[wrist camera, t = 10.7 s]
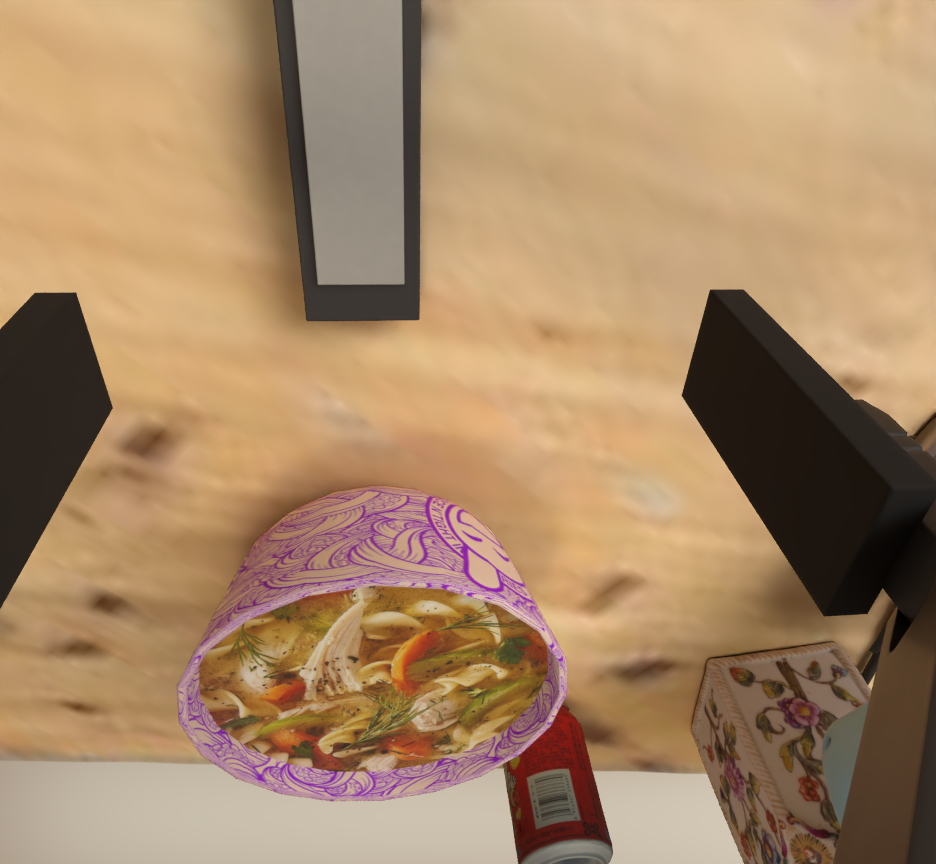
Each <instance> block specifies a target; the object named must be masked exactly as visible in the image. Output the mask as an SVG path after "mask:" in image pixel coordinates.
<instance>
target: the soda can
mask: <svg viewBox="0 0 936 864" xmlns="http://www.w3.org/2000/svg"><path fill="white" fill-rule="evenodd" d="M503 767H504V773H505V779H506V786H507V793H508V798H509V805H510V811H511V817H512V823H513V831H514V838H515V845H516V851H517V858H518V864H608V863H609V862H610V860H611V858H612V855H613V849H612V843H611V840H610V836H609V832H608V828H607V825H606V821H605V817H604V814H603V810H602V806H601V802H600V798H599V794H598V790H597V786H596V782H595V778H594V775H593V771H592V767H591V763H590V759H589V755H588V751H587V747H586V743H585V739H584V735H583V732H582V728H581V725H580V723H579V722H578V721H577V719H576V718H575V717H574V716H573V715H572V714H571V713H570V712H569V708H568V707H567V705H566V704H565V703H564V702H563V703H562V705H561V707H560V709H559V710H558V712H557V714H556V716H555V718H554V720H553V722H552V724H551V726H550V727H549V728H548V729H547V730H546V731H545V732H544V733H543V734H542V735H541V736H540V737H538V738H537V739H536V740H535V741H534V742H533V743H532V744H531V745H530V746H529V747H528V748H527V749H526V750H525V751H523V752H522V753H521V754H520V755H518V756H516V757H515V758H513V759H511V760H509V761H507V762H506V763H504V764H503Z"/></svg>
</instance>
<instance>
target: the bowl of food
mask: <svg viewBox="0 0 936 864" xmlns="http://www.w3.org/2000/svg"><path fill="white" fill-rule="evenodd" d="M566 695H567V670H566V657H565V655H564V653H563V652H562V650H561V648H560V646H559V644H558V642H557V640H556V638H555V637H554V635H553V633H552V631H551V630H550V628H549V626H548V625H547V623H546V621H545V619H544V618H543V616H542V614H541V612H540V610H539V608H538V607H537V605H536V603H535V601H534V599H533V597H532V596H531V594H530V592H529V590H528V589H527V587H526V585H525V584H524V582H523V580H522V578H521V577H520V575H519V573H518V572H517V570H516V569H515V567H514V565H513V564H512V562H511V560H510V559H509V557H508V556H507V554H506V552H505V551H504V549H503V547H502V546H501V544H500V543H499V541H498V540H497V539H496V537H495V536H494V534H493V533H492V531H491V530H490V529H489V528H488V527H487V526H485V525H484V524H483V523H481V522H480V521H479V520H477V519H476V518H475V517H473V516H472V515H471V514H469V513H468V512H466V511H465V510H464V509H462V508H461V507H459V506H457V505H455V504H454V503H452V502H450V501H448V500H445V499H442V498H439V497H436V496H433V495H431V494H428V493H425V492H422V491H419V490H416V489H411V488H399V487H387V486H369V487H362V488H355V489H349V490H342V491H336V492H333V493H331V494H329V495H326V496H324V497H321V498H319V499H317V500H314V501H312V502H310V503H307V504H305V505H303V506H300V507H299V508H297V509H295V510H293V511H292V512H290V513H288V514H287V515H286V516H284V517H283V518H282V519H281V520H280V521H278V522H277V523H276V524H275V525H274V526H272V527H271V528H270V529H269V530H268V531H266V532H265V533H264V534H263V535H262V536H260V537H259V538H258V539H257V541H256V542H255V544H254V545H253V547H252V548H251V550H250V551H249V553H248V554H247V556H246V557H245V559H244V561H243V563H242V564H241V566H240V568H239V570H238V571H237V573H236V575H235V577H234V579H233V580H232V582H231V584H230V586H229V588H228V590H227V591H226V593H225V595H224V597H223V599H222V601H221V603H220V604H219V606H218V608H217V610H216V612H215V614H214V616H213V618H212V619H211V621H210V623H209V625H208V627H207V629H206V631H205V633H204V635H203V636H202V638H201V640H200V642H199V644H198V646H197V647H196V649H195V651H194V653H193V655H192V657H191V659H190V660H189V662H188V664H187V666H186V668H185V670H184V672H183V674H182V676H181V678H180V680H179V682H178V684H177V697H178V715H179V723H180V725H181V726H182V728H183V729H184V731H185V732H186V734H187V735H188V737H189V738H190V740H191V741H192V743H193V744H194V746H195V747H196V749H197V750H198V752H199V753H200V754H201V755H202V756H204V757H205V758H206V759H208V760H209V761H211V762H212V763H214V764H215V765H217V766H218V767H220V768H221V769H223V770H224V771H226V772H227V773H229V774H230V775H232V776H233V777H235V778H236V779H240V780H242V781H245V782H248V783H251V784H254V785H256V786H259V787H262V788H265V789H268V790H271V791H274V792H277V793H280V794H284V795H291V796H298V797H306V798H312V799H319V800H326V801H375V800H376V801H379V800H380V801H381V800H389V799H395V798H401V797H407V796H413V795H419V794H424V793H430V792H436V791H439V790H441V789H444V788H447V787H450V786H453V785H456V784H459V783H462V782H465V781H468V780H471V779H474V778H477V777H480V776H482V775H484V774H486V773H488V772H489V771H491V770H493V769H495V768H497V767H498V766H500V765H502V764H504V763H506V762H507V761H509V760H511V759H513V758H515V757H516V756H518V755H520V754H521V753H522V752H523V751H525V750H526V749H527V748H528V747H529V746H530V745H531V744H532V743H533V742H534V741H535V740H536V739H537V738H538V737H540V736H541V735H542V734H543V733H544V732H545V731H546V730H547V729H548V728H549V727H550V726H551V724H552V722H553V720H554V718H555V716H556V714H557V712H558V710H559V709H560V707H561V705H562V703H563V701H564V699H565V697H566Z"/></svg>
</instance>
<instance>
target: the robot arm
mask: <svg viewBox="0 0 936 864" xmlns="http://www.w3.org/2000/svg"><path fill="white" fill-rule="evenodd" d="M682 397H683V398H684V400H685V402H686V403H687V405H688V406H689V408H690V409H691V411H692V412H693V414H694V416H695V417H696V419H697V420H698V422H699V423H700V425H701V426H702V428H703V429H704V431H705V433H706V434H707V436H708V437H709V439H710V440H711V442H712V443H713V445H714V447H715V448H716V450H717V451H718V453H719V454H720V456H721V457H722V459H723V461H724V462H725V464H726V465H727V467H728V468H729V470H730V471H731V473H732V475H733V476H734V478H735V479H736V481H737V482H738V484H739V485H740V487H741V489H742V490H743V492H744V493H745V495H746V496H747V498H748V499H749V501H750V502H751V504H752V506H753V507H754V509H755V510H756V512H757V513H758V515H759V516H760V518H761V520H762V521H763V523H764V524H765V526H766V527H767V529H768V530H769V532H770V534H771V535H772V537H773V538H774V540H775V541H776V543H777V544H778V546H779V548H780V549H781V551H782V552H783V554H784V555H785V557H786V558H787V560H788V562H789V563H790V565H791V566H792V568H793V569H794V571H795V572H796V574H797V575H798V577H799V579H800V580H801V582H802V583H803V585H804V586H805V588H806V589H807V591H808V593H809V594H810V596H811V597H812V599H813V600H814V602H815V603H816V605H817V607H818V608H819V610H820V611H821V613H822V614H823V616H840V615H857V614H868V612H869V610H870V608H871V607H872V605H873V603H874V602H875V600H876V598H877V597H878V595H879V593H880V592H881V590H882V588H883V589H884V590H885V592H886V593H887V594H888V596H889V597H890V598H891V600H892V601H893V602H894V604H895V605H896V606H897V607H896V609H895V610H894V612H893V613H892V615H891V617H890V618H889V620H888V621H887V623H886V625H885V626H884V628H883V629H882V631H881V633H880V634H879V636H878V637H877V639H876V641H875V642H874V644H873V645H872V647H871V649H870V650H869V651H870V652H872V653H873V654H872V656H871V658H870V660H869V661H868V663H867V665H866V667H865V669H864V670H863V672H862V674H861V675H862V677H863V679H864V680H865V682H866V684H867V685H868V684H869V683H870V681H871V679H872V678H873V676H874V674H875V672H876V674H875V678H874V683H873V687H872V692H871V696H870V700H869V701H867V702H866V703H864V704H862V705H861V706H859V707H857V708H856V709H854V710H852V711H851V712H849V713H847V714H846V715H844V716H842V717H841V718H839V719H837V720H836V721H834V722H833V723H832V724H831V725H830V727H829V728H828V729H827V731H826V733H825V736H824V739H823V744H822V758H823V761H822V765H823V772H824V777H825V781H826V785H827V789H828V793H829V796H830V799H831V802H832V805H833V808H834V811H835V814H836V816H837V819H838V821H839V824H840V826H841V829H840V833H839V838H838V842H837V847H836V851H835V855H834V860H833V864H936V417H935V418H934V419H933V420H932V421H931V422H930V423H929V424H928V425H927V426H926V427H925V428H924V429H923V430H922V431H921V432H920V434H919V435H918V436H917V437H916V438H915V440H914V439H913V438H912V437H911V436H907V432H906V431H905V430H904V429H903V428H902V427H901V426H900V425H899V424H898V423H897V422H896V421H895V420H893V419H892V418H891V417H890V416H889V415H888V414H886V413H885V412H883V411H881V410H879V409H878V408H876V407H874V406H872V405H871V404H869V403H867V402H866V401H864V400H854V399H853V398H852V397H851V396H850V395H849V394H848V393H847V392H846V391H845V390H844V389H843V388H842V387H841V386H840V385H839V384H838V383H837V382H836V381H835V380H834V379H833V378H832V377H831V376H830V375H829V374H828V373H827V372H826V371H825V370H824V369H823V368H822V367H821V366H820V365H819V364H818V363H817V362H816V361H815V360H814V359H813V358H812V357H811V356H810V355H809V354H808V353H807V352H806V351H805V350H804V349H803V348H802V347H801V346H800V345H799V344H798V343H797V342H796V341H795V340H794V339H793V338H792V337H791V336H790V335H789V334H788V333H787V332H786V331H785V330H784V329H783V328H782V327H781V326H780V325H779V324H778V323H777V322H776V321H775V320H774V319H773V318H772V317H771V316H770V315H769V314H768V313H767V312H766V311H765V310H764V309H763V308H762V307H761V306H759V305H758V304H757V303H756V302H755V301H754V300H753V299H752V298H751V297H750V296H749V295H748V294H747V293H746V292H745V291H744V290H710V292H709V296H708V300H707V303H706V307H705V311H704V314H703V318H702V322H701V326H700V329H699V333H698V337H697V341H696V344H695V348H694V352H693V355H692V359H691V363H690V367H689V370H688V374H687V378H686V382H685V385H684V389H683V393H682ZM112 409H113V407H112V404H111V401H110V398H109V395H108V391H107V388H106V385H105V382H104V379H103V376H102V373H101V370H100V366H99V363H98V360H97V357H96V354H95V351H94V348H93V344H92V341H91V338H90V335H89V332H88V329H87V326H86V322H85V319H84V316H83V313H82V310H81V307H80V304H79V300H78V297H77V294H76V293H34V294H33V295H32V296H31V298H30V299H29V300H28V301H27V302H26V303H25V304H24V305H23V306H22V307H21V308H20V309H19V310H18V311H17V312H16V313H15V314H14V315H13V316H12V318H11V319H10V320H9V321H8V322H7V323H6V324H5V325H4V326H3V327H2V328H1V329H0V608H1V607H2V605H3V603H4V601H5V600H6V598H7V596H8V594H9V592H10V591H11V589H12V587H13V585H14V583H15V582H16V580H17V578H18V576H19V575H20V573H21V571H22V569H23V567H24V566H25V564H26V562H27V560H28V558H29V557H30V555H31V553H32V551H33V550H34V548H35V546H36V544H37V542H38V541H39V539H40V537H41V535H42V533H43V532H44V530H45V528H46V526H47V525H48V523H49V521H50V519H51V517H52V516H53V514H54V512H55V510H56V508H57V507H58V505H59V503H60V501H61V500H62V498H63V496H64V494H65V492H66V491H67V489H68V487H69V485H70V483H71V482H72V480H73V478H74V476H75V475H76V473H77V471H78V469H79V467H80V466H81V464H82V462H83V460H84V459H85V457H86V455H87V453H88V451H89V450H90V448H91V446H92V444H93V442H94V441H95V439H96V437H97V435H98V434H99V432H100V430H101V428H102V426H103V425H104V423H105V421H106V419H107V417H108V416H109V414H110V412H111V410H112Z"/></svg>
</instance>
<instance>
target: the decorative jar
mask: <svg viewBox="0 0 936 864" xmlns="http://www.w3.org/2000/svg"><path fill="white" fill-rule="evenodd" d="M871 692H872V691H871V690H870V688H869V686H868V685H867V684H866V682H865V680H864V679H863V677H862V675H861V674H860V672H859V671H858V670H857V668H856V667H855V665H854V664H853V662H852V661H851V659H850V658H849V656H848V655H847V654H846V652H845V651H844V650H843V648H842V647H841V646H840V645H839V644H838V643H836V642H827V643H821V644H815V645H808V646H802V647H796V648H790V649H783V650H773V651H766V652H759V653H752V654H745V655H739V656H734V657H723V658H717V659H709V660H708V662H707V667H706V671H705V675H704V679H703V683H702V687H701V691H700V695H699V699H698V702H697V706H696V710H695V714H694V719H693V723H692V727H691V733H692V735H693V738H694V740H695V743H696V745H697V747H698V750H699V753H700V756H701V758H702V761H703V764H704V766H705V769H706V772H707V774H708V777H709V779H710V782H711V785H712V787H713V789H714V792H715V794H716V797H717V799H718V801H719V805H720V807H721V810H722V812H723V815H724V817H725V819H726V821H727V824H728V826H729V829H730V831H731V834H732V836H733V838H734V841H735V843H736V845H737V848H738V851H739V853H740V855H741V857H742V859H743V862H744V864H833V860H834V855H835V851H836V847H837V842H838V838H839V833H840V829H841V826H840V824H839V821H838V819H837V816H836V814H835V811H834V808H833V805H832V802H831V799H830V796H829V793H828V789H827V785H826V781H825V777H824V772H823V765H822V761H823V758H822V744H823V739H824V736H825V733H826V731H827V729H828V728H829V727H830V725H831V724H832V723H833V722H834V721H836V720H837V719H839V718H841V717H842V716H844V715H846V714H847V713H849V712H851V711H852V710H854V709H856V708H857V707H859V706H861V705H862V704H864V703H866V702H867V701H869V700H870V696H871Z"/></svg>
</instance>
